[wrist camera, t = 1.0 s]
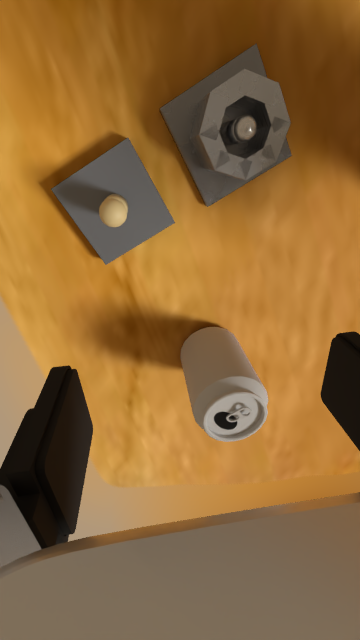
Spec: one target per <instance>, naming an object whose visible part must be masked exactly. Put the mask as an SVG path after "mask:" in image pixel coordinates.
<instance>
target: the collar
mask: <svg viewBox="0 0 360 640" xmlns="http://www.w3.org/2000/svg"><path fill="white" fill-rule="evenodd" d="M228 106H232V107H234V108H237V109H240V110H242V111H245V112H246V114H248V115H251V116H253V117H254V118H255V120H256V122H257V131H256V134H255V136H254V137H253V138H252V139H251V140H250V141H248V144H247V147H246V150H245V151H243V152H242V153H240V154H238V155H237V156H235V155H232V154H229V153H227V150H226V148H225V145H224V143H223V141H222V138H221V136H220V133H219V130H220V127H221V123H222V120H223V116H224V113H225V109H226V107H228ZM290 123H291V122H290V118H289V115H288V112H287V108H286V105H285V102H284V98H283V95H282V92H281V88H280V85H279V83H278V82H275V81H273V80H271V79H268V78H266V77H263V76H261V75H259V74H256V73H254V72H252V71H249V70H247V69H244V70H242V71H241V72H239V73H238V74H236V75H235V76H233V77H231V78H230V79H228V80H227V81H225V82H224V83H222V84H221V85H219V86H218V87H216V88H215V89H213V90H212V91H210V92H209V93H208V94H207V95H206V96H205V97H204V98H203V99H202V100H201V101H200V102H199V105H198V109H197V113H196V117H195V121H194V125H193V129H192V133H191V137H190V140H191V142H192V144H193V146H194V148H195V151H196V153H197V155H198V157H199V159H200V161H201V164H202V166H203V168H204V169H206V170H209V171H212V172H215V173H218V174H221V175H224V176H228V177H231V178H236V179H242V180H247V179H249V178H250V177H252V176H254V175H255V174H257V173H258V172H260V171H262V170H263V169H265V168H267V167H268V166H270V165H271V164H273V163H275V162H276V161H277V158H278V156H279V153H280V150H281V148H282V145H283V142H284V140H285V137H286V134H287V131H288V129H289V126H290Z"/></svg>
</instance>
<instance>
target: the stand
mask: <svg viewBox="0 0 360 640" xmlns="http://www.w3.org/2000/svg"><path fill="white" fill-rule="evenodd" d="M244 69H247V70H249V71H252V72H254V73H256V74H259V75H261V76H263V77H266V78H267V75H266V72H265V69H264V66H263V63H262V60H261V56H260V53H259V50H258V47H257V44H255V45H253V46H252V47H250V48H249V49H247V50H246V51H244V52H243V53H242V54H240V55H239V56H237V57H236V58H234V59H233V60H231V61H230V62H228V63H227V64H225V65H224V66H222V67H221V68H219V69H218V70H216V71H215V72H213V73H212V74H210V75H209V76H207V77H206V78H204V79H203V80H201V81H200V82H199V83H197V84H196V85H194V86H193V87H191V88H190V89H188V90H187V91H185V92H184V93H182V94H181V95H179V96H178V97H176V98H175V99H173V100H172V101H170V102H169V103H167V104H166V105H164V106H163V107H161V108H160V112H161V114H162V116H163V119H164V121H165V123H166V125H167V127H168V129H169V131H170V133H171V135H172V137H173V139H174V141H175V143H176V145H177V147H178V149H179V152H180V154H181V156H182V158H183V160H184V162H185V164H186V166H187V168H188V170H189V172H190V174H191V176H192V178H193V180H194V182H195V184H196V187H197V189H198V191H199V193H200V195H201V197H202V199H203V201H204V203H205V205H206V206H207V207H208V206H210V205H212V204H213V203H215V202H217V201H218V200H220V199H221V198H223V197H225V196H226V195H228V194H230V193H231V192H233V191H235V190H236V189H238V188H239V187H241V186H243V185H244V184H246V183H248V182H249V181H251V180H253V179H254V178H256V177H258V176H259V175H261V174H262V173H264V172H266V171H267V170H269V169H271V168H272V167H274V166H276V165H277V164H279V163H280V162H282V161H284V160H285V159H287V158H289V157H290V156H292V155H291V152H290V149H289V146H288V142H287V139H286V137H285V140H284V142H283V145H282V148H281V150H280V153H279V156H278V158H277V161H276V162H275V163H273V164H271V165H270V166H268V167H267V168H265V169H263V170H262V171H260V172H258V173H257V174H255V175H254V176H252V177H250V178H249V179H247V180H242V179H236V178H231V177H228V176H224V175H221V174H218V173H215V172H212V171H209V170H206V169H204V168H203V166H202V164H201V161H200V159H199V157H198V155H197V153H196V151H195V148H194V146H193V144H192V142H191V140H190V137H191V133H192V129H193V125H194V121H195V117H196V113H197V109H198V105H199V102H200V101H201V100H202V99H203V98H204V97H205V96H206V95H207V94H208V93H209V92H210V91H212V90H213V89H215V88H216V87H218V86H219V85H221V84H222V83H224V82H225V81H227V80H228V79H230V78H231V77H233V76H235V75H236V74H238V73H239V72H241V71H242V70H244ZM256 131H257V122H256V120H255V118H254V117H253V116H251V115H248V114H246V112H245V111H242V110H240V109H237V108H234V107H232V106H228V107H226V109H225V113H224V116H223V120H222V123H221V127H220V130H219V133H220V136H221V138H222V141H223V143H224V145H225V148H226V150H227V153H229V154H232V155H235V156H237V155H238V154H240V153H242V152H243V151H245V150H246V147H247V144H248V141H250V140H251V139H252V138H253V137H254V136H255V134H256Z"/></svg>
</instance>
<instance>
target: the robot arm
mask: <svg viewBox="0 0 360 640" xmlns="http://www.w3.org/2000/svg"><path fill="white" fill-rule="evenodd" d="M321 398H322V401H323V403H324V404H325V405H326V407H327V408H328V409H329V411H330V412H331V413H332V415H333V416H334V417H335V419H336V420H337V421H338V423H339V424H340V425H341V427H342V428H343V429H344V431H345V432H346V433H347V435H348V436H349V437H350V439H351V440H352V441H353V443H354V444H355V445H356V447H357V448H358V449H359V451H360V335H359V334H358V333H357V332H346V333H339V334H337V335H336V338H333V340H332V342H331V347H330V352H329V356H328V361H327V366H326V371H325V376H324V380H323V385H322V390H321ZM92 434H93V425H92V421H91V418H90V414H89V411H88V407H87V404H86V400H85V397H84V393H83V390H82V386H81V383H80V379H79V376H78V372H77V370H76V369H71V367H70V366H61V367H53V368H52V369H51V370H50V372H49V375H48V377H47V379H46V382H45V384H44V387H43V389H42V391H41V393H40V396H39V398H38V400H37V402H36V405H35V407H34V408H33V409H29V410H28V411H27V412H26V414H25V416H24V418H23V420H22V422H21V425H20V427H19V429H18V431H17V433H16V436H15V438H14V440H13V442H12V444H11V446H10V449H9V451H8V453H7V455H6V457H5V460H4V462H3V464H2V466H1V468H0V640H360V492H359V493H353V494H346V495H339V496H333V497H326V498H320V499H314V500H307V501H301V502H295V503H288V504H282V505H276V506H269V507H263V508H257V509H251V510H244V511H239V512H232V513H226V514H220V515H213V516H207V517H201V518H195V519H189V520H183V521H177V522H171V523H165V524H159V525H153V526H147V527H141V528H135V529H130V530H124V531H119V532H114V533H108V534H102V535H97V536H92V537H86V538H82V539H78V540H74V541H70V542H68V537H69V534H73V533H74V532H75V529H76V524H77V518H78V513H79V507H80V501H81V495H82V490H83V485H84V479H85V473H86V468H87V462H88V457H89V451H90V446H91V440H92Z"/></svg>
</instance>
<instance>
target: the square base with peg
mask: <svg viewBox="0 0 360 640" xmlns="http://www.w3.org/2000/svg"><path fill="white" fill-rule="evenodd" d="M51 190H52V191H53V193H54V194H55V195H56V197H57V198H58V200H59V201H60V202H61V204H62V205H63V206H64V208H65V209H66V211H67V212H68V213H69V215H70V216H71V217H72V219H73V220H74V222H75V223H76V224H77V226H78V227H79V228H80V230H81V231H82V233H83V234H84V235H85V237H86V238H87V239H88V241H89V242H90V244H91V245H92V246H93V248H94V249H95V251H96V252H97V253H98V255H99V256H100V257H101V259H102V260H103V262H104V263H105V264H108V263H110V262H111V261H113V260H115V259H116V258H118V257H119V256H121V255H123V254H124V253H126V252H128V251H129V250H131V249H133V248H134V247H136V246H137V245H139V244H141V243H142V242H144V241H146V240H147V239H149V238H151V237H152V236H154V235H155V234H157V233H159V232H160V231H162V230H164V229H165V228H167V227H169V226H170V225H172V224H173V223H175V222H174V220H173V218H172V216H171V214H170V213H169V211H168V209H167V207H166V205H165V204H164V202H163V200H162V198H161V196H160V195H159V193H158V191H157V189H156V187H155V186H154V184H153V182H152V180H151V178H150V177H149V175H148V173H147V171H146V169H145V167H144V166H143V164H142V162H141V160H140V158H139V157H138V155H137V153H136V151H135V149H134V148H133V146H132V144H131V142H130V140H129V139H128V138H127V139H125V140H124V141H122V142H121V143H119V144H118V145H116V146H115V147H113V148H112V149H110V150H109V151H107V152H106V153H104V154H103V155H101V156H100V157H98V158H97V159H95V160H94V161H92V162H91V163H89V164H88V165H86V166H85V167H83V168H82V169H80V170H79V171H77V172H76V173H74V174H73V175H71V176H70V177H68V178H67V179H65V180H64V181H62V182H61V183H59V184H58V185H56V186H55V187H54V188H52V189H51Z"/></svg>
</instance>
